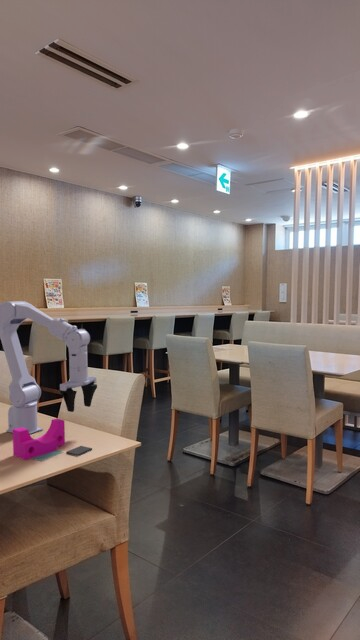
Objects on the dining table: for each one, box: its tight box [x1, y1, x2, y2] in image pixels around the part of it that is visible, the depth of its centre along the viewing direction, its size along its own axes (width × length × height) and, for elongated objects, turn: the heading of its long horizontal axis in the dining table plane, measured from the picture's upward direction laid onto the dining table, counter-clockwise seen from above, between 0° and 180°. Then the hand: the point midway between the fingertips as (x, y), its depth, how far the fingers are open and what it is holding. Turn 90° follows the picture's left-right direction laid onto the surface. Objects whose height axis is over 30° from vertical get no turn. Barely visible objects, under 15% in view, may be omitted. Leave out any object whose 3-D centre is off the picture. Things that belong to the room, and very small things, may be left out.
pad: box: [30, 449, 64, 462], centre depth 133 cm, size 8×8×1 cm
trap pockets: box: [66, 445, 93, 457], centre depth 139 cm, size 20×6×1 cm, turn 59°
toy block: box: [12, 418, 66, 461], centre depth 136 cm, size 15×6×8 cm, turn 139°
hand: (79, 408), depth 149 cm, fingers open, 7 cm apart
